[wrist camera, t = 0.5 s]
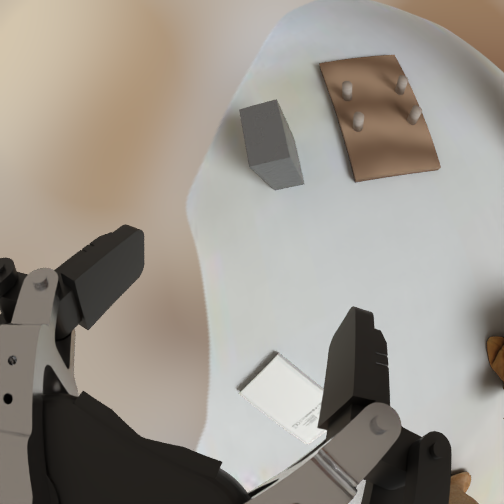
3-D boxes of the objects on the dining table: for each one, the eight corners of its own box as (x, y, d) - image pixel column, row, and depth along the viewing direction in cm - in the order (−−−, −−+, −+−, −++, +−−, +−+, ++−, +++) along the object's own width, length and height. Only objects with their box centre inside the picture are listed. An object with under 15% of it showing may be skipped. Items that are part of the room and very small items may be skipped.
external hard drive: (279, 350, 33) (350, 406, 30) (241, 389, 35) (307, 439, 32) (276, 355, 32) (350, 412, 29) (237, 394, 33) (306, 446, 30)
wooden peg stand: (437, 170, 27) (449, 160, 23) (355, 182, 30) (357, 172, 26) (393, 59, 27) (396, 41, 23) (320, 68, 31) (316, 50, 27)
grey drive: (304, 184, 32) (290, 157, 22) (274, 190, 33) (249, 167, 23) (293, 137, 32) (276, 98, 22) (266, 144, 33) (239, 108, 23)
